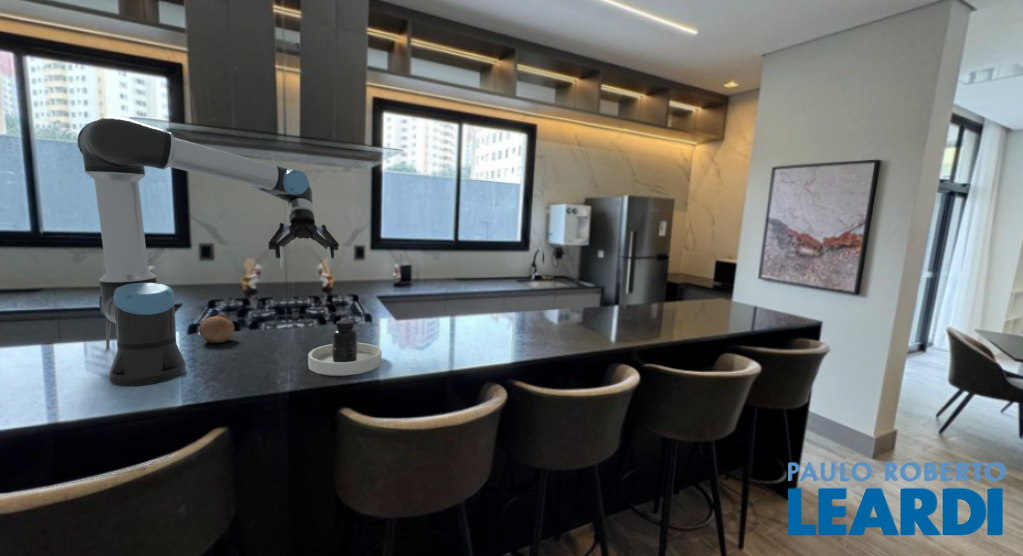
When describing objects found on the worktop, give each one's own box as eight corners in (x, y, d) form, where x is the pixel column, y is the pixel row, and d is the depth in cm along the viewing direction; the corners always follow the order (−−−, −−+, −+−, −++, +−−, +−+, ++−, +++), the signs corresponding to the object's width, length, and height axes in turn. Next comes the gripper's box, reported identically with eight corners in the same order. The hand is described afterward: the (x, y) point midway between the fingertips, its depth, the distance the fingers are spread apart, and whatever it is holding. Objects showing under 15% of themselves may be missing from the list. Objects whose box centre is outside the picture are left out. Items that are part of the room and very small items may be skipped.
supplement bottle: (327, 362, 127) (327, 322, 126) (341, 356, 134) (341, 318, 132) (348, 365, 126) (348, 325, 124) (361, 358, 132) (361, 320, 131)
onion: (224, 347, 147) (234, 318, 151) (232, 346, 141) (242, 316, 144) (192, 341, 141) (203, 311, 145) (198, 339, 135) (209, 308, 138)
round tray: (313, 379, 116) (313, 366, 116) (305, 357, 133) (305, 346, 133) (388, 370, 126) (388, 358, 126) (372, 350, 143) (372, 340, 143)
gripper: (339, 224, 155) (347, 272, 144) (259, 221, 142) (260, 273, 131) (342, 210, 149) (350, 257, 139) (258, 205, 137) (260, 257, 126)
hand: (306, 265), depth 135 cm, fingers open, 13 cm apart
